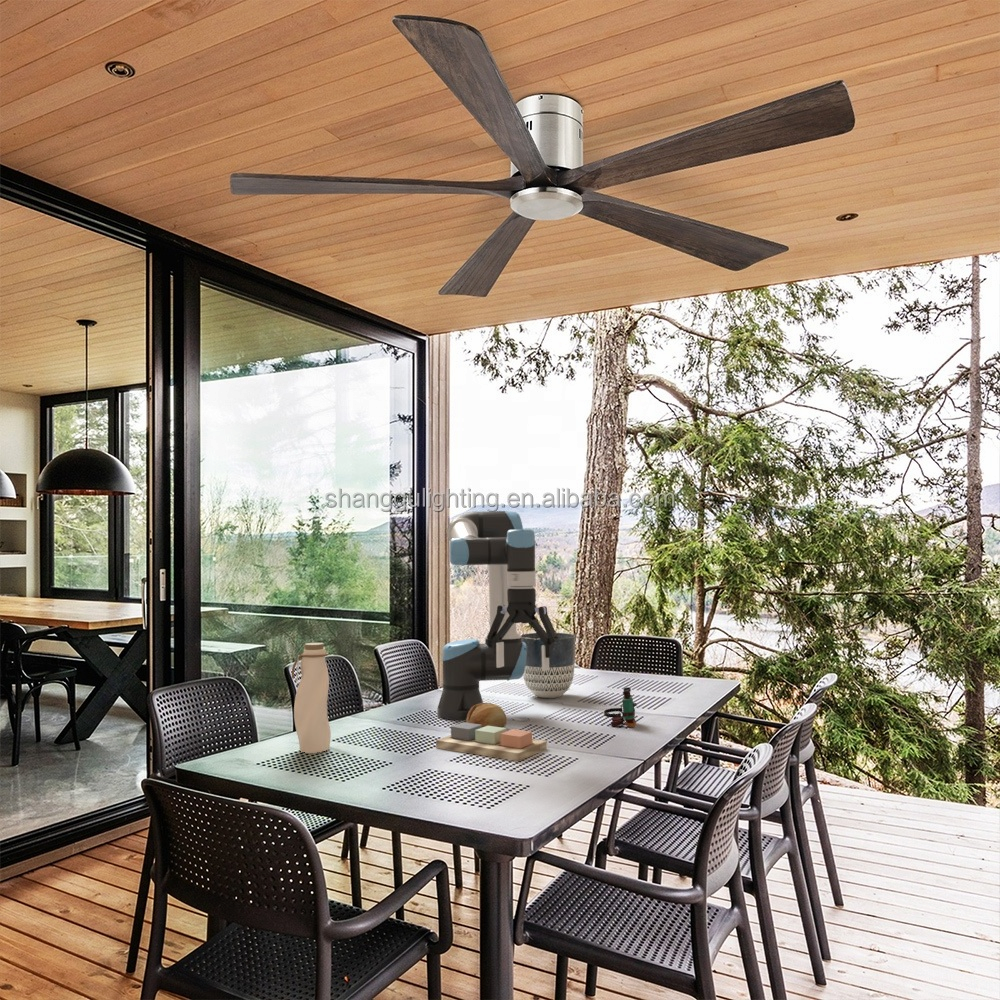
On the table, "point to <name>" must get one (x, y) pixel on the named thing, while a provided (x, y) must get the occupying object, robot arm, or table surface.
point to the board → (491, 748)
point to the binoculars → (627, 711)
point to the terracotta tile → (516, 738)
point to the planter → (559, 665)
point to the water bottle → (312, 700)
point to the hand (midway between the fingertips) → (522, 668)
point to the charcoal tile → (464, 731)
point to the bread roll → (487, 715)
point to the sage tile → (489, 734)
